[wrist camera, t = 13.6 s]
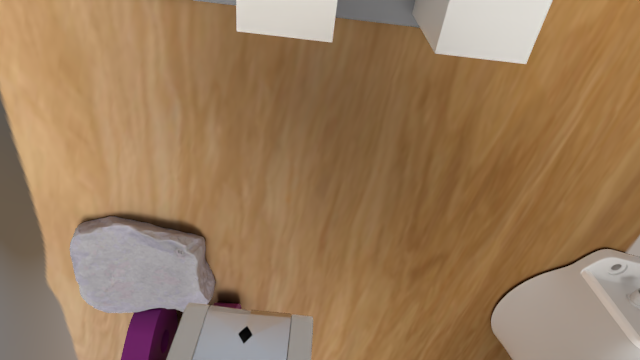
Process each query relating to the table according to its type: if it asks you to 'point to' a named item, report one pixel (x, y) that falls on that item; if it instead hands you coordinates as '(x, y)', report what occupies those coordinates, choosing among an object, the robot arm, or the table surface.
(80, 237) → the stone block
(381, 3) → the rail plate
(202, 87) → the table surface
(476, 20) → the white grey-marked block
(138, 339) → the mounting bracket
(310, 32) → the block
